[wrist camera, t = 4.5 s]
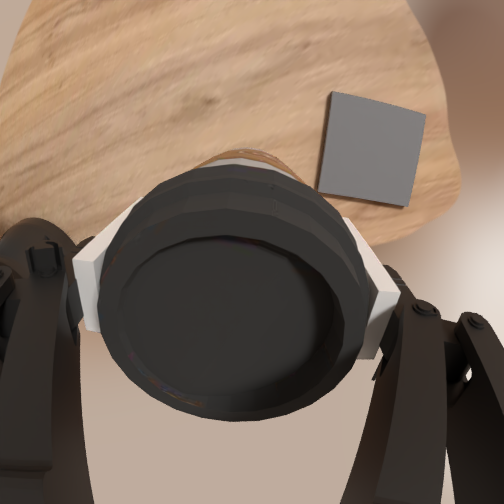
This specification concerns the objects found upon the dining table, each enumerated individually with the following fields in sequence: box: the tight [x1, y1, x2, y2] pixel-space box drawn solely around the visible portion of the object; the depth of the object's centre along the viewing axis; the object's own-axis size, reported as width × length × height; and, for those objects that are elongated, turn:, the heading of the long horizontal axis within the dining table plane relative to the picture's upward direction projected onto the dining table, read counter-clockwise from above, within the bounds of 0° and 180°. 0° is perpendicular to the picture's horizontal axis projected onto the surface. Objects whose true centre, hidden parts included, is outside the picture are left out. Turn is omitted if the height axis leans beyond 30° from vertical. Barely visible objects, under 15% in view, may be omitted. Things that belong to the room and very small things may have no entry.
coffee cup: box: [97, 147, 370, 422], centre depth 15 cm, size 8×8×15 cm
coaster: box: [317, 91, 426, 207], centre depth 29 cm, size 10×10×1 cm
